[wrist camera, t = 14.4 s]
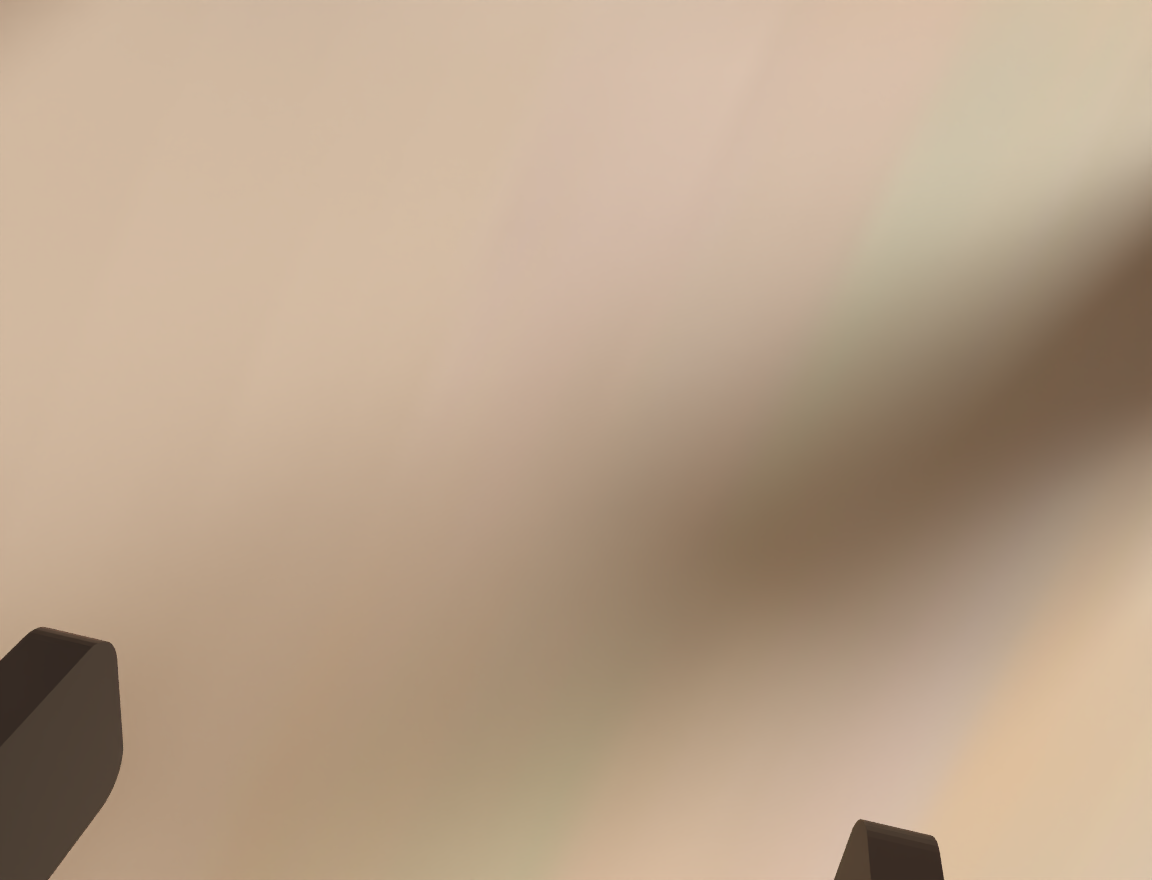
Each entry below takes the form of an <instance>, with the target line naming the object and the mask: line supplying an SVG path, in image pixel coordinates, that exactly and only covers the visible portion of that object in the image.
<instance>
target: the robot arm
mask: <svg viewBox="0 0 1152 880" xmlns="http://www.w3.org/2000/svg"><path fill="white" fill-rule="evenodd" d="M122 754H123V738H122V723H121V709H120V694H119V680H118V665H117V655H116V651H115V648H114V647H113V645H112V644H111V643H110V642H106V641H102V640H98V639H94V638H89V637H85V636H81V635H76V634H72V633H68V632H63V631H59V630H55V629H51V628H46V627H40V628H37V629H34V630H33V631H31V632H30V633H28V634H27V635H26V636H25V637H24V638H23V639H22V640H21V641H20V642H19V643H18V644H17V645H16V646H15V647H14V648H13V649H12V650H11V651H10V652H9V653H8V654H7V655H6V656H5V657H4V658H3V659H1V660H0V880H48V879H49V878H50V876H51V875H52V874H53V872H54V871H55V870H56V868H57V867H58V866H59V864H60V863H61V862H62V860H63V859H64V858H65V856H66V855H67V854H68V852H69V851H70V849H71V848H72V847H73V845H74V844H75V843H76V841H77V840H78V839H79V837H80V836H81V835H82V833H83V832H84V831H85V829H86V828H87V827H88V825H89V824H90V823H91V821H92V820H93V819H94V817H95V816H96V815H97V813H98V812H99V811H100V809H101V808H102V806H103V805H104V803H105V802H106V800H107V798H108V797H109V795H110V793H111V791H112V789H113V786H114V784H115V781H116V779H117V776H118V773H119V769H120V765H121V761H122ZM834 880H944V877H943V870H942V864H941V858H940V852H939V847H938V844H937V841H936V840H935V838H934V837H933V836H931V835H926V834H922V833H918V832H913V831H909V830H905V829H901V828H896V827H892V826H888V825H883V824H879V823H875V822H870V821H866V820H862V819H860V820H858V821H857V822H856V824H855V825H854V827H853V829H852V832H851V834H850V837H849V840H848V843H847V845H846V848H845V851H844V854H843V856H842V859H841V862H840V865H839V868H838V870H837V873H836V876H835V879H834Z"/></svg>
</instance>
